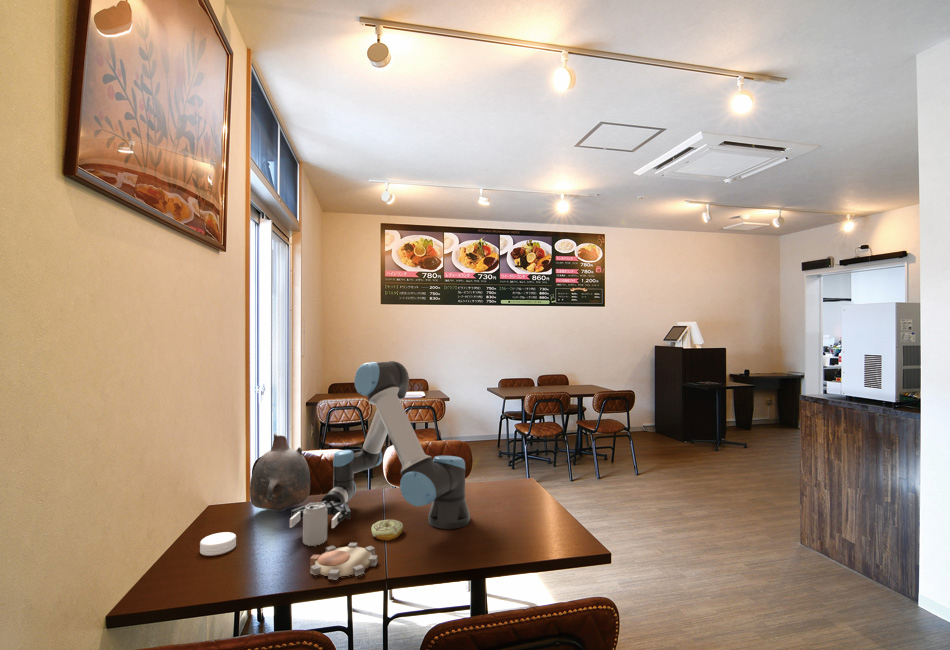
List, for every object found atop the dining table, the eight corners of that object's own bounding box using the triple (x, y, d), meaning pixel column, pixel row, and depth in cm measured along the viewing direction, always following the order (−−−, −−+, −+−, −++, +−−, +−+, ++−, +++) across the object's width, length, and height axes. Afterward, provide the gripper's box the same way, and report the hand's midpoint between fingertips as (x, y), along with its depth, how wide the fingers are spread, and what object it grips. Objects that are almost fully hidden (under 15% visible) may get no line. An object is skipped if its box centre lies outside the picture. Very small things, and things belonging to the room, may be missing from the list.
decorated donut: (368, 542, 148) (368, 530, 148) (373, 529, 159) (373, 518, 159) (401, 541, 149) (401, 529, 149) (404, 528, 160) (403, 517, 160)
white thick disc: (202, 545, 146) (202, 534, 146) (237, 540, 150) (237, 529, 150) (197, 559, 137) (197, 547, 137) (234, 553, 141) (234, 541, 141)
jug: (317, 515, 171) (318, 434, 173) (255, 528, 159) (256, 441, 161) (301, 497, 192) (302, 425, 193) (244, 508, 179) (246, 431, 181)
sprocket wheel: (384, 549, 143) (384, 542, 143) (367, 581, 123) (367, 573, 123) (323, 548, 143) (323, 542, 143) (297, 580, 124) (297, 572, 124)
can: (306, 538, 151) (306, 501, 152) (329, 537, 152) (329, 500, 152) (299, 548, 144) (300, 509, 144) (324, 547, 144) (324, 508, 145)
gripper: (368, 511, 166) (350, 536, 145) (300, 511, 167) (273, 535, 146) (368, 490, 166) (350, 512, 145) (301, 490, 167) (273, 511, 146)
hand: (311, 523), depth 146 cm, fingers open, 13 cm apart
